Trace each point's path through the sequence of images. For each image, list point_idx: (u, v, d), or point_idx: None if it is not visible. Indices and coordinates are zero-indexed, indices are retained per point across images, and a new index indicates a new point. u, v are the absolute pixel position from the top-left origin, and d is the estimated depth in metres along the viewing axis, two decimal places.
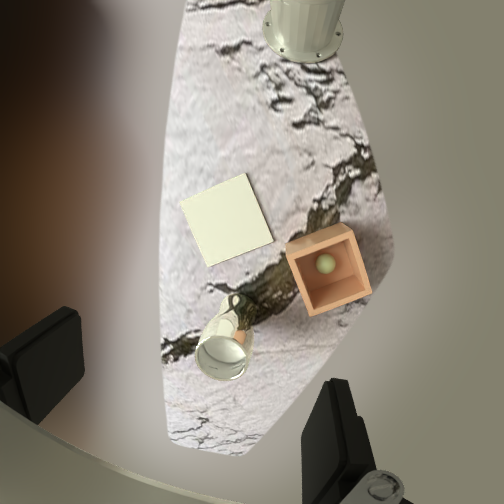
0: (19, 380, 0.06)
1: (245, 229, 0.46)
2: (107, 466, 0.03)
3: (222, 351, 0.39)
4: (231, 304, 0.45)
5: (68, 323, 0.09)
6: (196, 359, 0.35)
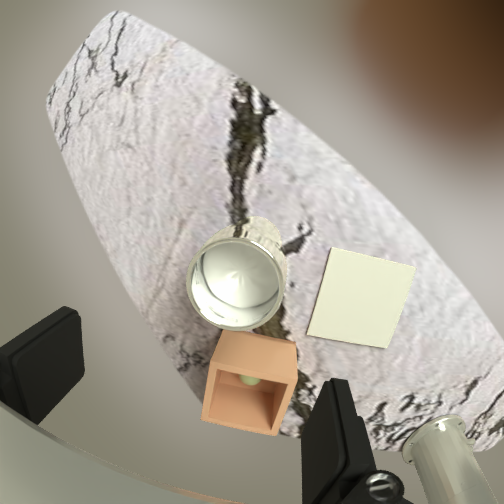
0: (19, 380, 0.06)
1: (340, 316, 0.35)
2: (107, 466, 0.03)
3: (232, 254, 0.24)
4: None
5: (68, 323, 0.09)
6: (256, 246, 0.19)
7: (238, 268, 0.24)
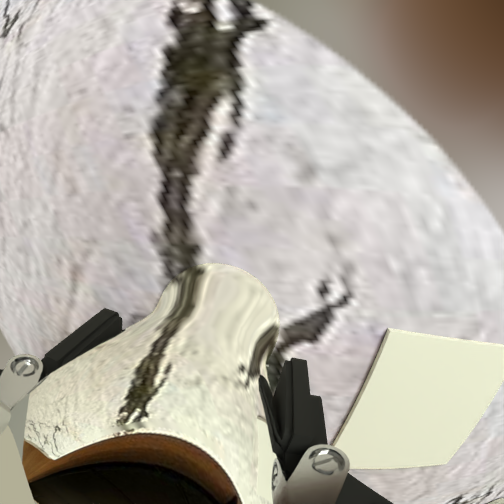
0: None
1: (385, 440, 0.16)
2: None
3: None
4: None
5: (112, 325, 0.10)
6: None
7: None
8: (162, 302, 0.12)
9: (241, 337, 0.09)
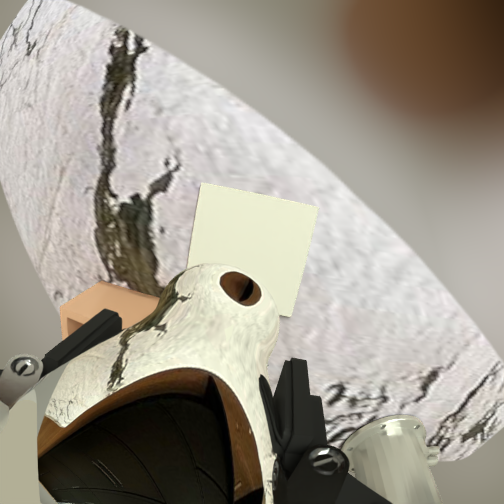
0: None
1: None
2: None
3: None
4: None
5: (112, 325, 0.10)
6: None
7: None
8: (162, 302, 0.12)
9: (241, 336, 0.09)
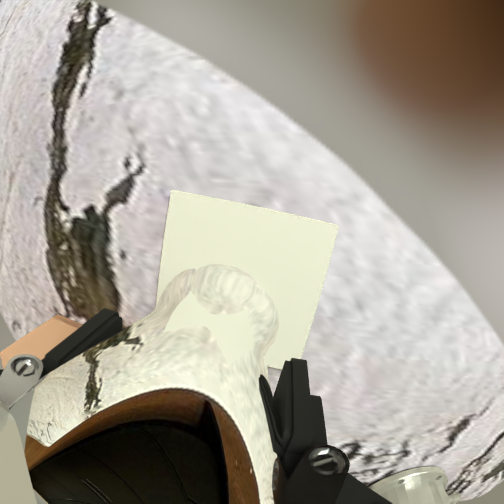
0: None
1: None
2: None
3: None
4: None
5: (112, 325, 0.10)
6: None
7: None
8: (162, 301, 0.12)
9: (241, 336, 0.09)
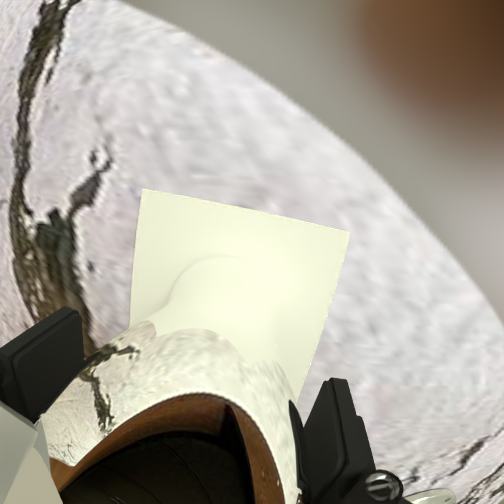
0: (20, 380, 0.06)
1: None
2: None
3: None
4: None
5: (69, 323, 0.09)
6: None
7: None
8: (177, 292, 0.13)
9: (255, 319, 0.11)
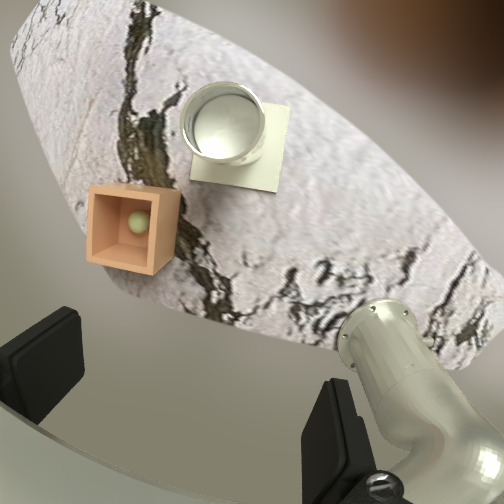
0: (19, 380, 0.06)
1: None
2: (107, 466, 0.03)
3: (219, 116, 0.25)
4: None
5: (68, 323, 0.09)
6: (239, 86, 0.21)
7: (225, 126, 0.25)
8: None
9: None
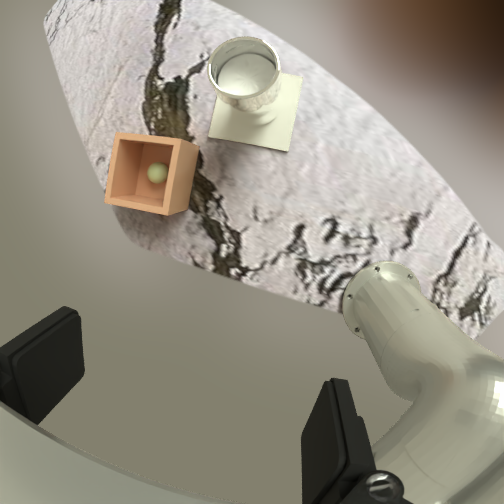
0: (19, 380, 0.06)
1: (236, 118, 0.39)
2: (107, 466, 0.03)
3: (241, 69, 0.27)
4: (273, 105, 0.34)
5: (68, 323, 0.09)
6: (259, 40, 0.23)
7: (245, 78, 0.27)
8: None
9: None
